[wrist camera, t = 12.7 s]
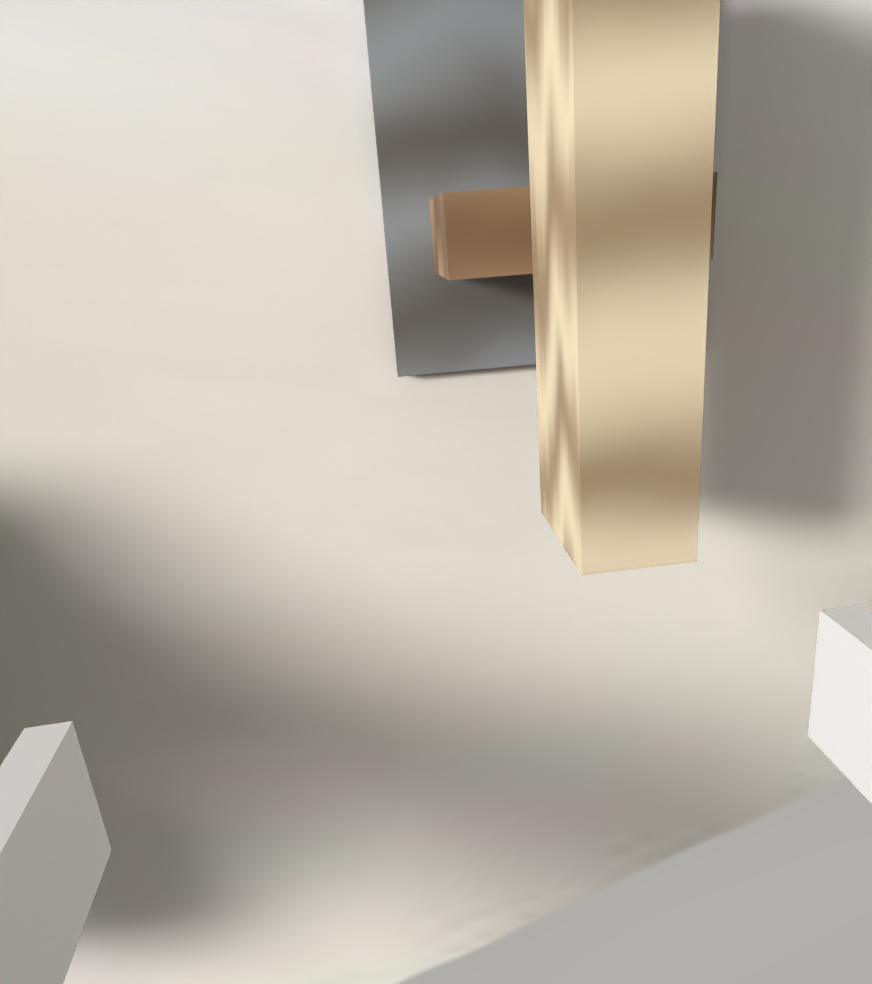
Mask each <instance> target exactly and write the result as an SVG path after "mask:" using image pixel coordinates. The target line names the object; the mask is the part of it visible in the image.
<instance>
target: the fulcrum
mask: <svg viewBox="0 0 872 984" xmlns="http://www.w3.org/2000/svg"><path fill="white" fill-rule="evenodd" d="M363 2H364V13H365V24H366V35H367V46H368V57H369V67H370V78H371V89H372V100H373V111H374V122H375V133H376V144H377V155H378V166H379V176H380V187H381V198H382V209H383V220H384V231H385V242H386V253H387V264H388V275H389V286H390V296H391V307H392V318H393V329H394V340H395V351H396V362H397V373H398V377H401V376H412V375H423V374H434V373H445V372H456V371H467V370H478V369H489V368H500V367H511V366H522V365H533V364H536V346H535V318H534V289H533V261H532V233H531V204H530V176H529V148H528V119H527V91H526V63H525V35H524V6H523V0H363ZM716 184H717V172H713V188H712V212H711V235H710V259H713V244H714V224H715V204H716Z"/></svg>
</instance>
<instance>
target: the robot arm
mask: <svg viewBox="0 0 872 984" xmlns="http://www.w3.org/2000/svg"><path fill="white" fill-rule="evenodd" d="M808 737H809V738H810V739H811V740H812V741H813V742H814V743H815V744H816V745H817V746H818V747H819V748H820V749H821V750H822V752H823V753H824V754H825V755H826V756H827V757H828V758H829V759H830V760H831V761H832V762H833V763H834V764H835V765H836V766H837V768H838V769H839V770H840V771H841V772H842V773H843V774H844V775H845V776H846V777H847V778H848V779H849V780H850V781H851V782H852V783H853V784H854V786H855V787H856V788H857V789H858V790H859V791H860V792H861V793H862V794H863V795H864V796H865V797H866V798H867V799H868V800H869V801H870V802H871V804H872V613H871V612H870V611H869V610H867V609H866V608H864V607H863V606H861V605H860V604H858V605H851V606H845V607H838V608H831V609H824V610H820V616H819V626H818V636H817V647H816V657H815V667H814V677H813V687H812V698H811V708H810V718H809V728H808ZM111 851H112V849H111V846H110V842H109V839H108V836H107V833H106V829H105V826H104V823H103V819H102V816H101V813H100V810H99V806H98V803H97V800H96V797H95V793H94V790H93V787H92V783H91V780H90V777H89V774H88V770H87V767H86V764H85V761H84V757H83V754H82V751H81V747H80V744H79V741H78V738H77V734H76V731H75V728H74V725H73V721H69V722H62V723H55V724H49V725H42V726H35V727H28V728H24V729H23V731H22V733H21V734H20V736H19V737H18V739H17V741H16V742H15V744H14V745H13V747H12V748H11V750H10V752H9V753H8V755H7V756H6V758H5V759H4V761H3V763H2V764H1V766H0V984H63V982H64V980H65V977H66V974H67V971H68V969H69V966H70V963H71V960H72V958H73V955H74V952H75V949H76V947H77V944H78V941H79V938H80V936H81V933H82V930H83V928H84V925H85V922H86V919H87V917H88V914H89V911H90V908H91V906H92V903H93V900H94V897H95V895H96V892H97V889H98V886H99V884H100V881H101V878H102V876H103V873H104V870H105V867H106V865H107V862H108V859H109V856H110V854H111Z"/></svg>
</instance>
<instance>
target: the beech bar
mask: <svg viewBox="0 0 872 984" xmlns="http://www.w3.org/2000/svg"><path fill="white" fill-rule="evenodd" d="M523 6H524V35H525V63H526V91H527V119H528V148H529V176H530V204H531V233H532V261H533V289H534V318H535V346H536V374H537V402H538V431H539V459H540V487H541V512H542V514H543V515H544V517H545V518H546V520H547V522H548V523H549V525H550V526H551V528H552V529H553V531H554V533H555V534H556V536H557V537H558V539H559V540H560V542H561V544H562V545H563V547H564V548H565V550H566V551H567V553H568V555H569V556H570V558H571V559H572V561H573V562H574V564H575V566H576V567H577V569H578V570H579V572H580V573H581V575H587V574H596V573H604V572H613V571H622V570H630V569H639V568H647V567H656V566H665V565H673V564H682V563H690V562H697V544H698V520H699V497H700V473H701V449H702V425H703V402H704V378H705V354H706V330H707V307H708V283H709V259H710V235H711V212H712V188H713V164H714V140H715V117H716V93H717V69H718V45H719V22H720V0H523Z"/></svg>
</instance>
